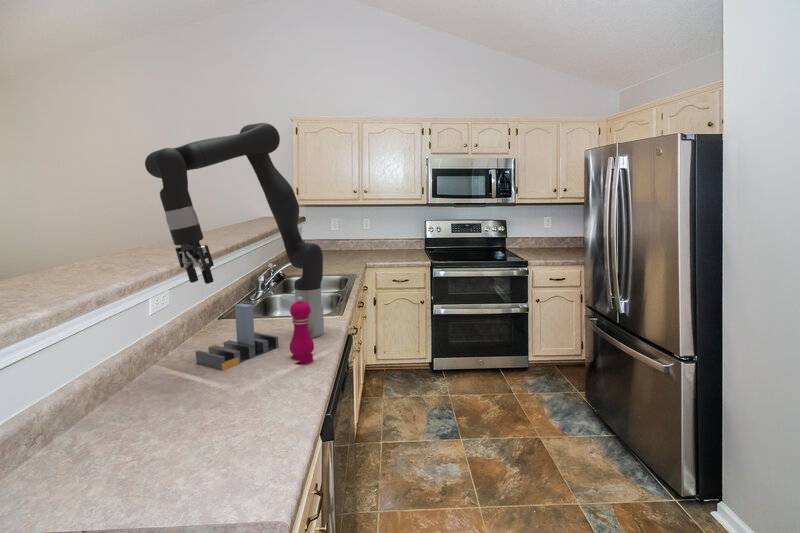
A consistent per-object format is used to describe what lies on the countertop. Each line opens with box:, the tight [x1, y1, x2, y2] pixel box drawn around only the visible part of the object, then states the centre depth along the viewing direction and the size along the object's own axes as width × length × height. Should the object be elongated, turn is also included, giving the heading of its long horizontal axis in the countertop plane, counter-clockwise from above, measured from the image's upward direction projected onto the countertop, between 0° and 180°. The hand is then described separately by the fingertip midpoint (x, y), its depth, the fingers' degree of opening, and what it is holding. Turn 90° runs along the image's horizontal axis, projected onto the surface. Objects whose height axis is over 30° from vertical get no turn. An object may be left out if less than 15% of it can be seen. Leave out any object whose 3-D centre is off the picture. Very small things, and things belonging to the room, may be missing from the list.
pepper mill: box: [289, 297, 315, 366], centre depth 135 cm, size 7×7×20 cm
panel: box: [234, 303, 255, 345], centre depth 140 cm, size 2×5×15 cm, turn 61°
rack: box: [195, 331, 280, 371], centre depth 138 cm, size 22×11×5 cm, turn 151°
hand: (201, 282), depth 125 cm, fingers open, 8 cm apart
